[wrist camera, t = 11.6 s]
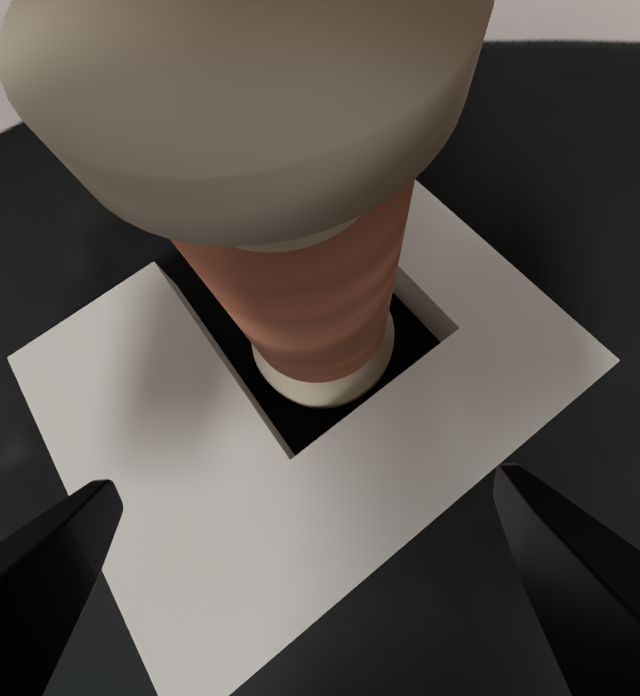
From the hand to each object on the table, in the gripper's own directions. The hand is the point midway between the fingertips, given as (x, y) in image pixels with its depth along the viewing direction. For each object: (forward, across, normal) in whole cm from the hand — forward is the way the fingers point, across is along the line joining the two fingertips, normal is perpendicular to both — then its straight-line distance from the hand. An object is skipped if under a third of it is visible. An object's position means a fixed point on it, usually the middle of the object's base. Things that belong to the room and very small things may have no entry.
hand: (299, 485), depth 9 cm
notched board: (+9, +1, +2) cm, 9 cm away
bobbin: (+10, 0, +1) cm, 10 cm away
